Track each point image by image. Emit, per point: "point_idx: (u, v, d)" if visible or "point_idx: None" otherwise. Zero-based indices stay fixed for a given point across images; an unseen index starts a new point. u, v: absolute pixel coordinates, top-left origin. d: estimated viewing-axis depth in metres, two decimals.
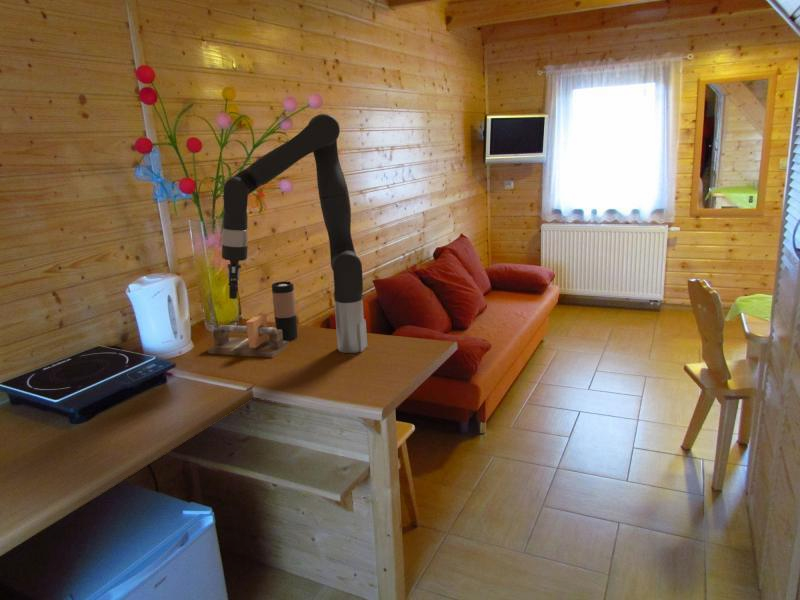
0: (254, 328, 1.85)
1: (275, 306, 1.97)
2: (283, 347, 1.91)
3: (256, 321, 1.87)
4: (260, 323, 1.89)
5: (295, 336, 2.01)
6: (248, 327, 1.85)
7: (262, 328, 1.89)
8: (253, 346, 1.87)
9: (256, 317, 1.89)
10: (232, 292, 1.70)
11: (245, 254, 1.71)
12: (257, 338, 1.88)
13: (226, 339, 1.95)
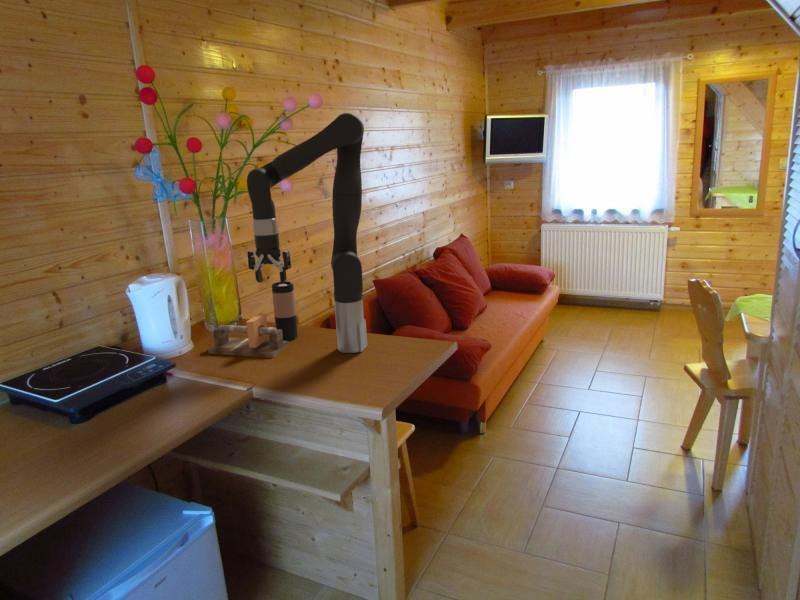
0: (254, 328, 1.85)
1: (275, 306, 1.97)
2: (283, 347, 1.91)
3: (256, 321, 1.87)
4: (260, 323, 1.89)
5: (295, 336, 2.01)
6: (248, 327, 1.85)
7: (262, 328, 1.89)
8: (253, 346, 1.87)
9: (256, 317, 1.89)
10: (285, 276, 1.81)
11: None
12: (257, 338, 1.88)
13: (226, 339, 1.95)
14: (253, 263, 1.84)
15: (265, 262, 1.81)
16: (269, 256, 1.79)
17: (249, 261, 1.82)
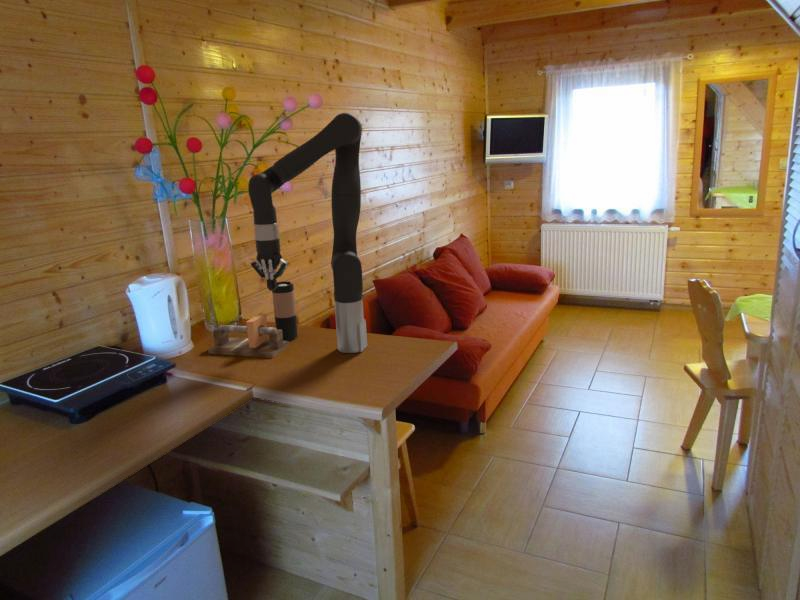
0: (254, 328, 1.85)
1: (275, 306, 1.97)
2: (283, 347, 1.91)
3: (256, 321, 1.87)
4: (260, 323, 1.89)
5: (295, 336, 2.01)
6: (248, 327, 1.85)
7: (262, 328, 1.89)
8: (253, 346, 1.87)
9: (256, 317, 1.89)
10: (275, 283, 1.83)
11: None
12: (257, 338, 1.88)
13: (226, 339, 1.95)
14: (263, 271, 1.84)
15: None
16: (270, 261, 1.79)
17: (257, 271, 1.82)
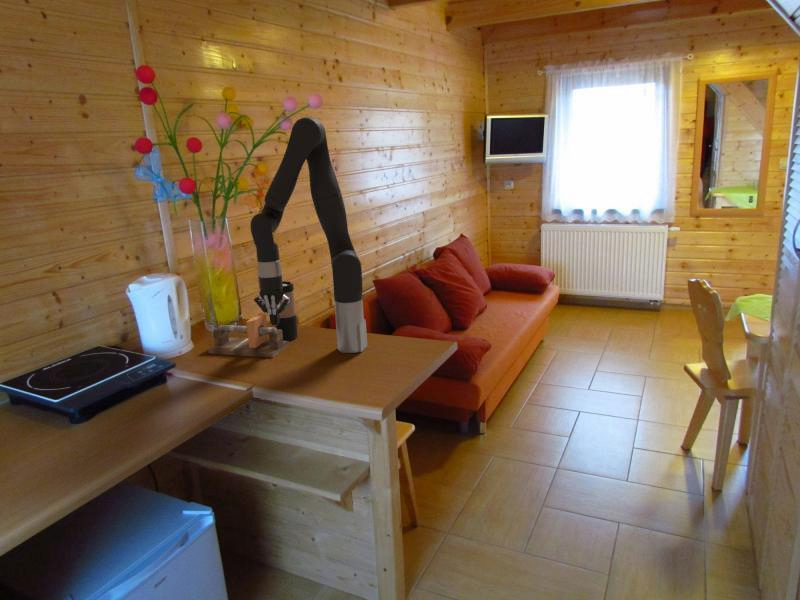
0: (254, 328, 1.85)
1: None
2: (283, 347, 1.91)
3: (256, 321, 1.87)
4: (260, 323, 1.89)
5: (295, 336, 2.01)
6: (248, 327, 1.85)
7: (262, 328, 1.89)
8: (253, 346, 1.87)
9: (256, 317, 1.89)
10: (278, 318, 1.86)
11: None
12: (257, 338, 1.88)
13: (226, 339, 1.95)
14: (266, 306, 1.87)
15: None
16: (272, 297, 1.83)
17: (260, 306, 1.86)
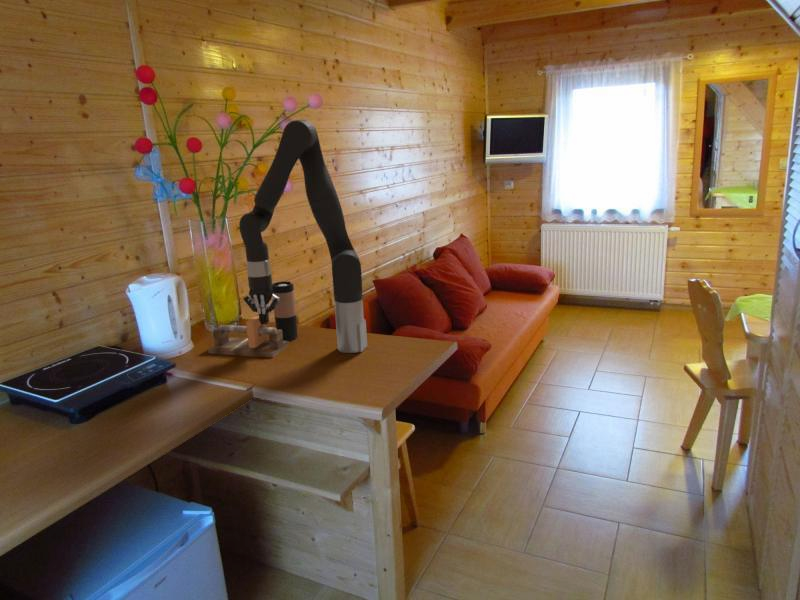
0: (254, 328, 1.85)
1: None
2: (283, 347, 1.91)
3: (256, 321, 1.87)
4: (260, 323, 1.89)
5: (295, 336, 2.01)
6: (247, 327, 1.85)
7: (262, 328, 1.89)
8: (253, 346, 1.87)
9: (256, 317, 1.89)
10: (267, 318, 1.87)
11: None
12: (257, 338, 1.88)
13: (226, 339, 1.95)
14: (255, 306, 1.88)
15: None
16: (262, 296, 1.84)
17: (250, 305, 1.87)
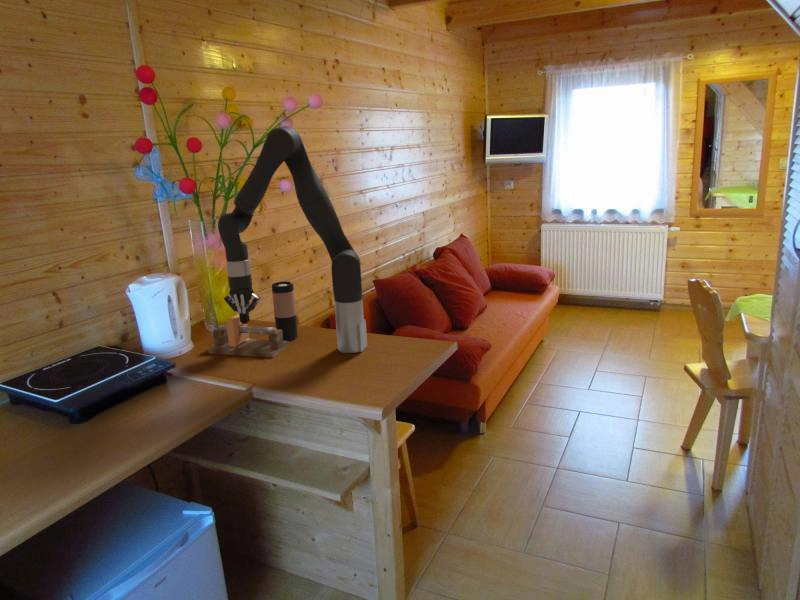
0: (234, 327, 1.87)
1: (275, 306, 1.97)
2: (283, 347, 1.91)
3: (236, 320, 1.89)
4: (240, 322, 1.91)
5: (295, 336, 2.01)
6: (227, 326, 1.87)
7: (262, 328, 1.89)
8: (233, 345, 1.89)
9: (236, 316, 1.91)
10: (247, 317, 1.89)
11: None
12: (237, 336, 1.89)
13: (226, 339, 1.95)
14: (236, 305, 1.90)
15: None
16: (242, 296, 1.86)
17: (230, 305, 1.89)
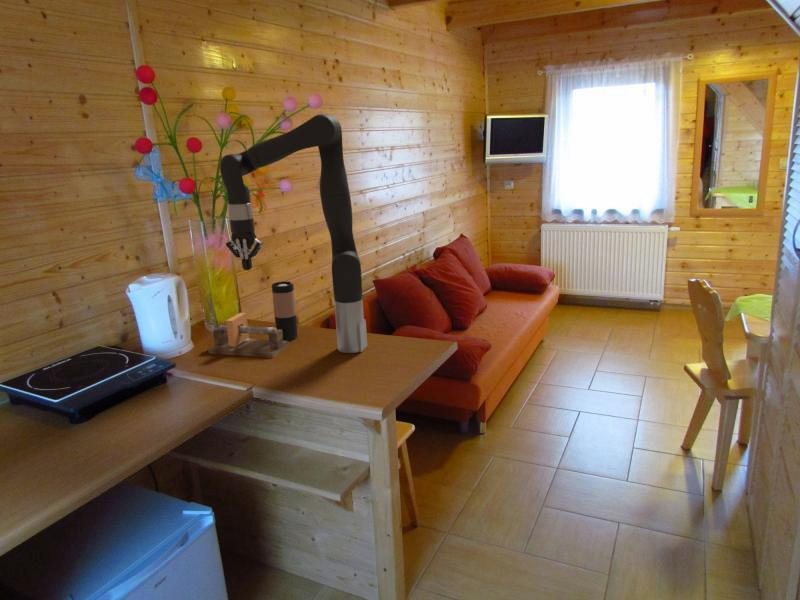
0: (234, 327, 1.87)
1: (275, 306, 1.97)
2: (283, 347, 1.91)
3: (236, 320, 1.89)
4: (240, 322, 1.91)
5: (295, 336, 2.01)
6: (227, 326, 1.87)
7: (262, 328, 1.89)
8: (233, 345, 1.89)
9: (236, 316, 1.91)
10: (250, 263, 1.86)
11: None
12: (237, 336, 1.89)
13: (226, 339, 1.95)
14: (238, 251, 1.87)
15: None
16: (244, 241, 1.82)
17: (232, 250, 1.85)
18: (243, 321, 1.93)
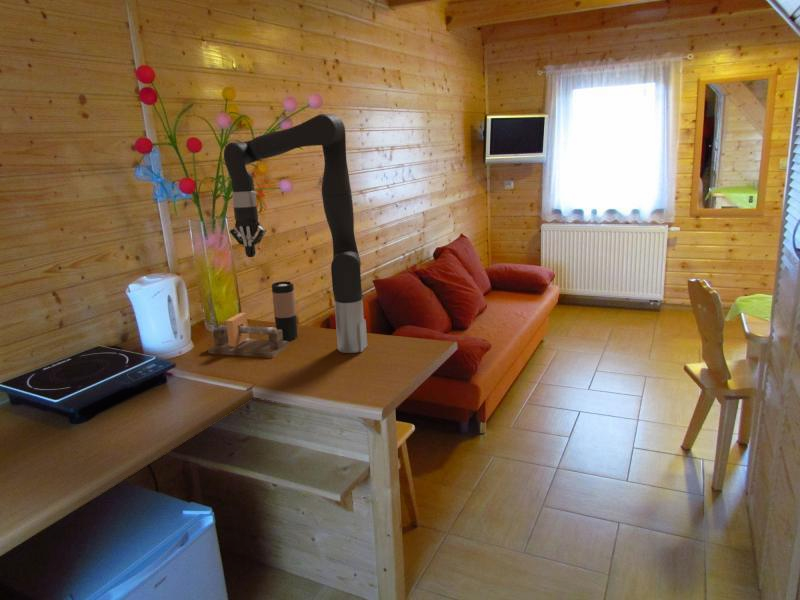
0: (234, 327, 1.87)
1: (275, 306, 1.97)
2: (283, 347, 1.91)
3: (236, 320, 1.89)
4: (240, 322, 1.91)
5: (295, 336, 2.01)
6: (227, 326, 1.87)
7: (262, 328, 1.89)
8: (233, 345, 1.89)
9: (236, 316, 1.91)
10: (253, 250, 1.89)
11: None
12: (237, 336, 1.89)
13: (226, 339, 1.95)
14: (242, 239, 1.90)
15: None
16: (248, 228, 1.85)
17: (236, 238, 1.88)
18: (243, 321, 1.93)
